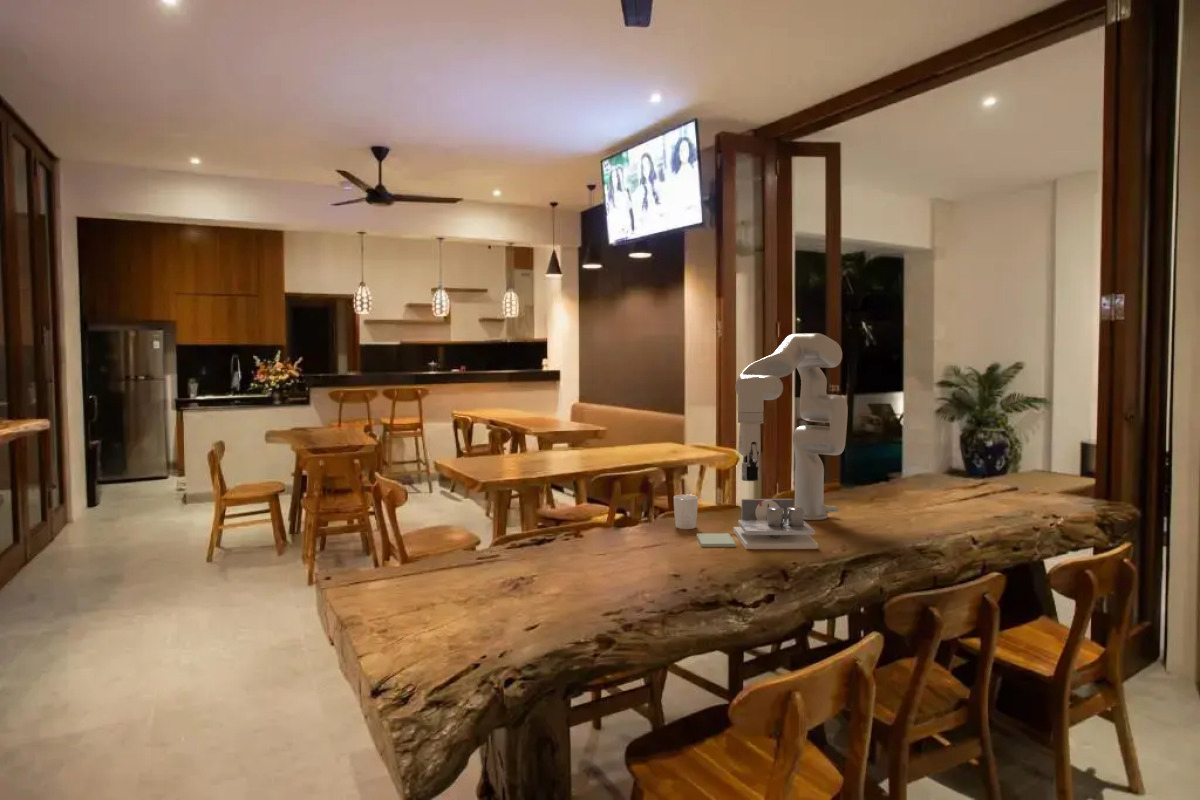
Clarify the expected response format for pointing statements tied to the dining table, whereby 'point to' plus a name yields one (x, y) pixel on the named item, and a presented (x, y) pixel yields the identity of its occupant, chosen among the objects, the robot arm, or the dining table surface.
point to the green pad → (716, 540)
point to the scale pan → (773, 528)
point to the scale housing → (758, 511)
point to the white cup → (685, 511)
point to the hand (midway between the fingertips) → (750, 477)
